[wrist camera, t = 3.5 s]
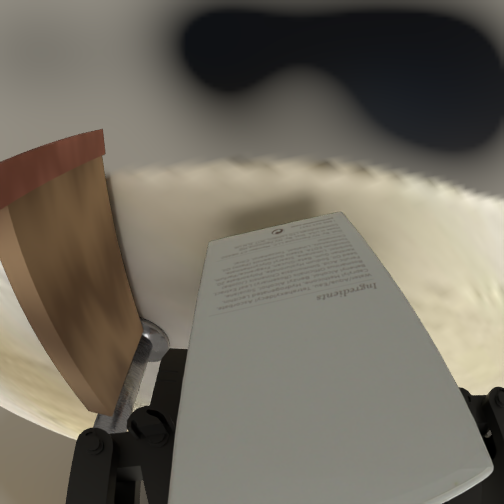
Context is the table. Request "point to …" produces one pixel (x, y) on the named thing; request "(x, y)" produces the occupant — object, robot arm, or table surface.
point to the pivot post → (135, 377)
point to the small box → (315, 381)
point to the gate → (70, 264)
